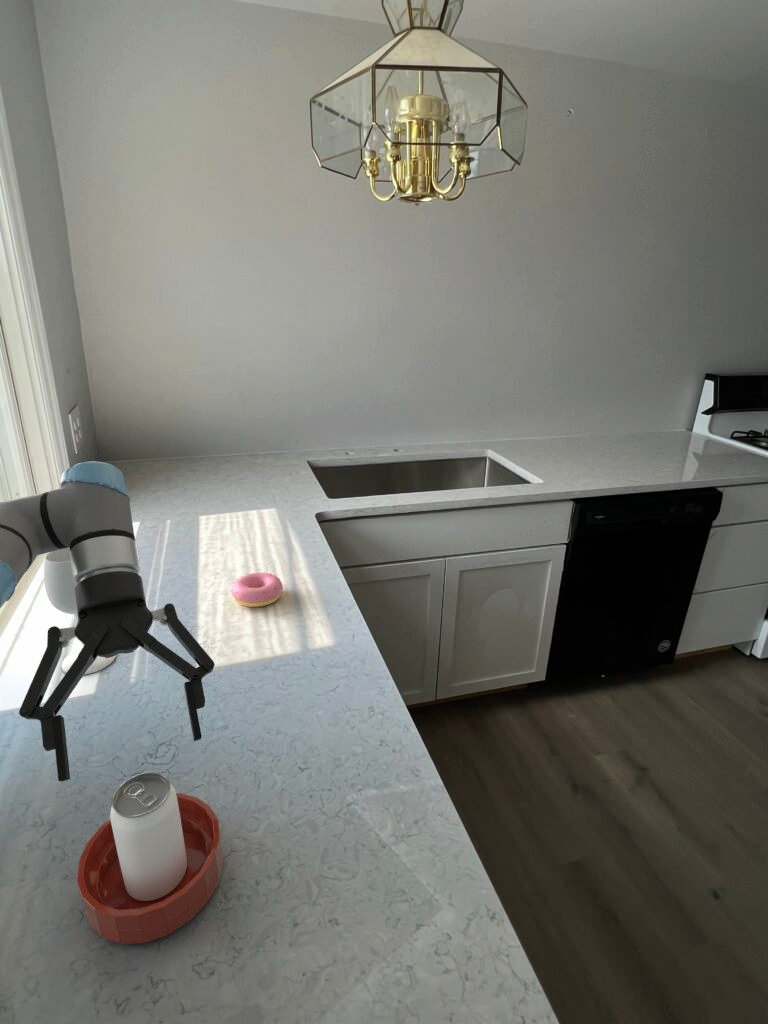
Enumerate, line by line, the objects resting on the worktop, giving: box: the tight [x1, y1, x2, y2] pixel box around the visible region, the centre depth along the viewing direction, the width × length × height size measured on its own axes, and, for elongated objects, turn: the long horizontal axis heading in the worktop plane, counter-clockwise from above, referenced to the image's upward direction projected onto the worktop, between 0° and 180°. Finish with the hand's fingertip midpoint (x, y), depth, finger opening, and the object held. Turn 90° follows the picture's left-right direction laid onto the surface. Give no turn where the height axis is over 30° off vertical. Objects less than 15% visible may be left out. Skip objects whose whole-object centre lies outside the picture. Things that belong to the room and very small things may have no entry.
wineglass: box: [43, 547, 117, 675], centre depth 95 cm, size 9×9×21 cm
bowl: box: [76, 792, 224, 945], centre depth 61 cm, size 14×14×5 cm
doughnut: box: [230, 572, 284, 608], centre depth 120 cm, size 11×11×4 cm
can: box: [109, 771, 187, 901], centre depth 60 cm, size 6×6×12 cm
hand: (134, 759), depth 62 cm, fingers open, 13 cm apart
